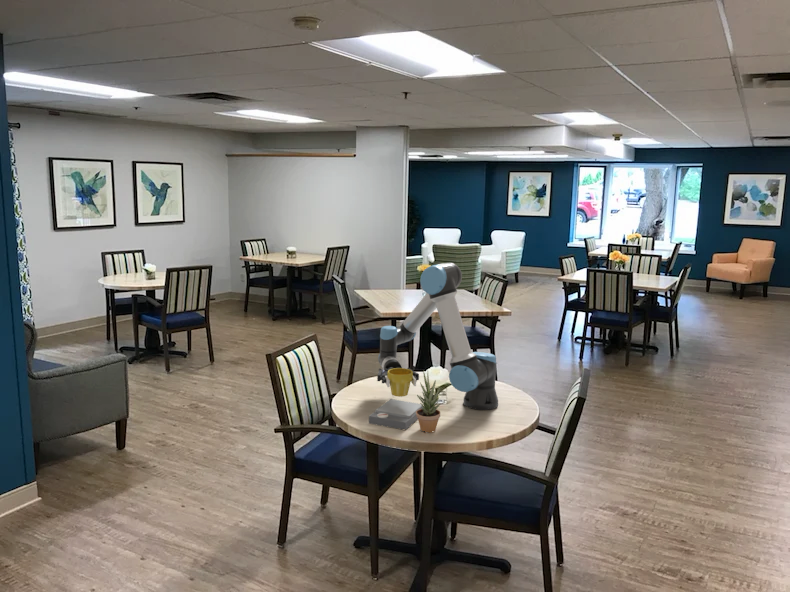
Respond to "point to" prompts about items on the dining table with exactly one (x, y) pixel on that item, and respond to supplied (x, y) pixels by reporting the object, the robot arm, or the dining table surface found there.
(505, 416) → the dining table surface
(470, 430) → the dining table surface
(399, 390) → the plant pot
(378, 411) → the kitchen scale
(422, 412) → the potted plant
